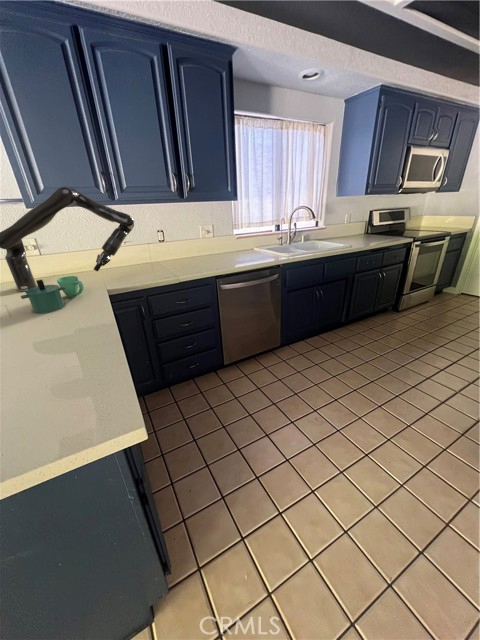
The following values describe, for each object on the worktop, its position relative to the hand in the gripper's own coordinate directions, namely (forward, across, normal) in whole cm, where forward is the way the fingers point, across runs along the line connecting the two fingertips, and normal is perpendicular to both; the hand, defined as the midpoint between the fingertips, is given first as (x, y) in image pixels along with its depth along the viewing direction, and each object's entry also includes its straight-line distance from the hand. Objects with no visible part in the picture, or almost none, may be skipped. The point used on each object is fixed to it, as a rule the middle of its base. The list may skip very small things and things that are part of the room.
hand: (95, 270), depth 150 cm
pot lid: (+22, +8, -18) cm, 29 cm away
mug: (+18, 0, -1) cm, 18 cm away
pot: (+28, +8, -11) cm, 31 cm away
